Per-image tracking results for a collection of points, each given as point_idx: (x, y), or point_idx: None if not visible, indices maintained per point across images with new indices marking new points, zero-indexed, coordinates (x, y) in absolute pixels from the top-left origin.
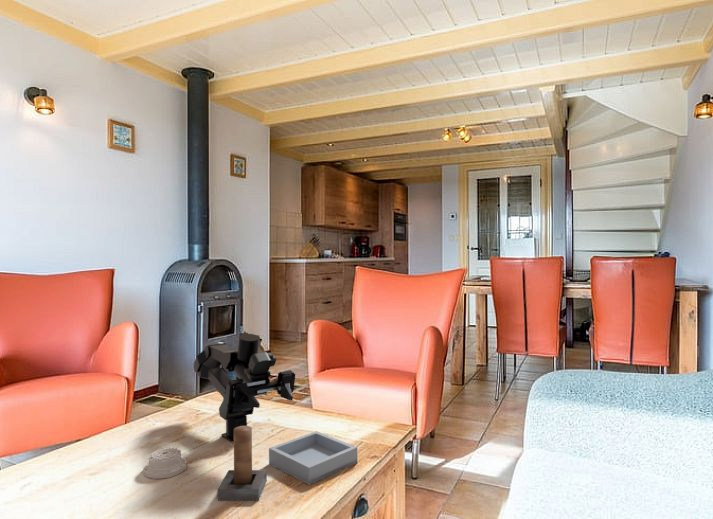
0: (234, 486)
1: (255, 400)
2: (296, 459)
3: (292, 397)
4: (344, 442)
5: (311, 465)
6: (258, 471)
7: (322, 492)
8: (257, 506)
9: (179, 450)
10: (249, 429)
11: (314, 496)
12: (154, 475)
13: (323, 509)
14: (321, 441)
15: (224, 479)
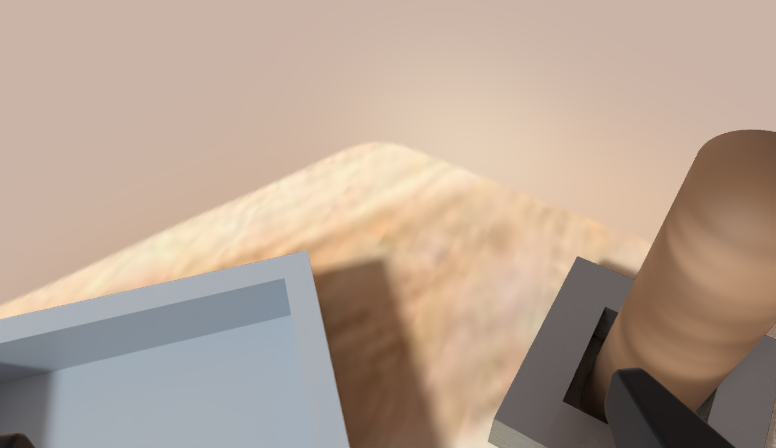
0: None
1: (697, 434)
2: (313, 365)
3: (8, 434)
4: None
5: (283, 266)
6: (545, 427)
7: (306, 227)
8: (579, 251)
9: None
10: (714, 153)
11: (348, 217)
12: None
13: (364, 145)
14: None
15: (759, 430)
